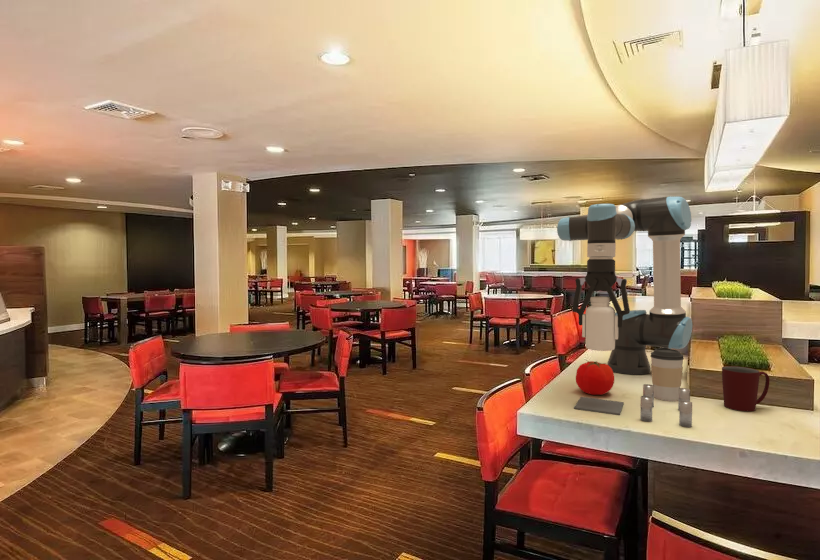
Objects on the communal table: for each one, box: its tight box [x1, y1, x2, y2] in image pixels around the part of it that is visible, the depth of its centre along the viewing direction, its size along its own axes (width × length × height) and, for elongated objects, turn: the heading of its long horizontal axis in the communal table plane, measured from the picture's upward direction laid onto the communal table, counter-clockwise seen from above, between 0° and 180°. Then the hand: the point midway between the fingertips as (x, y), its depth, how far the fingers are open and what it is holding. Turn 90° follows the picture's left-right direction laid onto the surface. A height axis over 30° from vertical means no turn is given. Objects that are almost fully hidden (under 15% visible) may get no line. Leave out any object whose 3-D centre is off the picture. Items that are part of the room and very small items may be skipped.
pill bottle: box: [585, 296, 616, 352], centre depth 138 cm, size 8×8×15 cm
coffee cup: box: [650, 347, 684, 402], centre depth 147 cm, size 9×9×15 cm
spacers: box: [639, 383, 693, 428], centre depth 131 cm, size 17×12×6 cm
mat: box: [573, 396, 625, 416], centre depth 139 cm, size 12×12×1 cm
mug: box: [721, 365, 770, 412], centre depth 137 cm, size 12×9×11 cm
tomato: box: [575, 359, 615, 396], centre depth 152 cm, size 12×12×10 cm
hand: (600, 337), depth 138 cm, fingers closed on pill bottle, 8 cm apart
